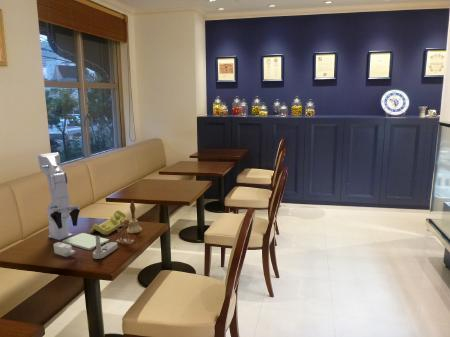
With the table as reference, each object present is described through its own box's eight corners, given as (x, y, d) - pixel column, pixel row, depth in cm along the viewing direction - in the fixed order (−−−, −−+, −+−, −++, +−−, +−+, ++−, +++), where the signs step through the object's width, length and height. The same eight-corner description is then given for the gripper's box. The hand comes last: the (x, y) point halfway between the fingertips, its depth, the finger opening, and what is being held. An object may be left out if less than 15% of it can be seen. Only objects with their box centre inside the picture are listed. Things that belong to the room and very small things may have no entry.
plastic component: (107, 231, 192) (92, 222, 194) (103, 242, 195) (89, 233, 197) (130, 217, 209) (116, 208, 212) (127, 227, 212) (113, 218, 215)
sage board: (62, 242, 185) (62, 240, 185) (82, 234, 195) (82, 232, 195) (89, 250, 175) (88, 248, 175) (109, 241, 185) (109, 239, 185)
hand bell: (128, 227, 203) (126, 199, 200) (143, 227, 203) (141, 199, 200) (124, 233, 195) (121, 204, 192) (139, 233, 195) (137, 203, 192)
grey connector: (52, 252, 174) (51, 244, 173) (59, 249, 177) (58, 241, 176) (70, 258, 167) (69, 249, 166) (77, 255, 170) (76, 246, 169)
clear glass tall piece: (115, 242, 183) (113, 219, 181) (120, 239, 187) (118, 217, 184) (130, 244, 180) (128, 221, 178) (135, 241, 183) (133, 218, 181)
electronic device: (118, 228, 177) (99, 239, 163) (119, 247, 178) (101, 260, 164) (108, 227, 178) (88, 238, 164) (110, 246, 180) (90, 259, 166)
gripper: (53, 197, 165) (58, 227, 164) (81, 195, 178) (86, 223, 176) (44, 201, 169) (49, 230, 167) (72, 198, 181) (77, 226, 180)
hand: (67, 227), depth 172 cm, fingers open, 7 cm apart
